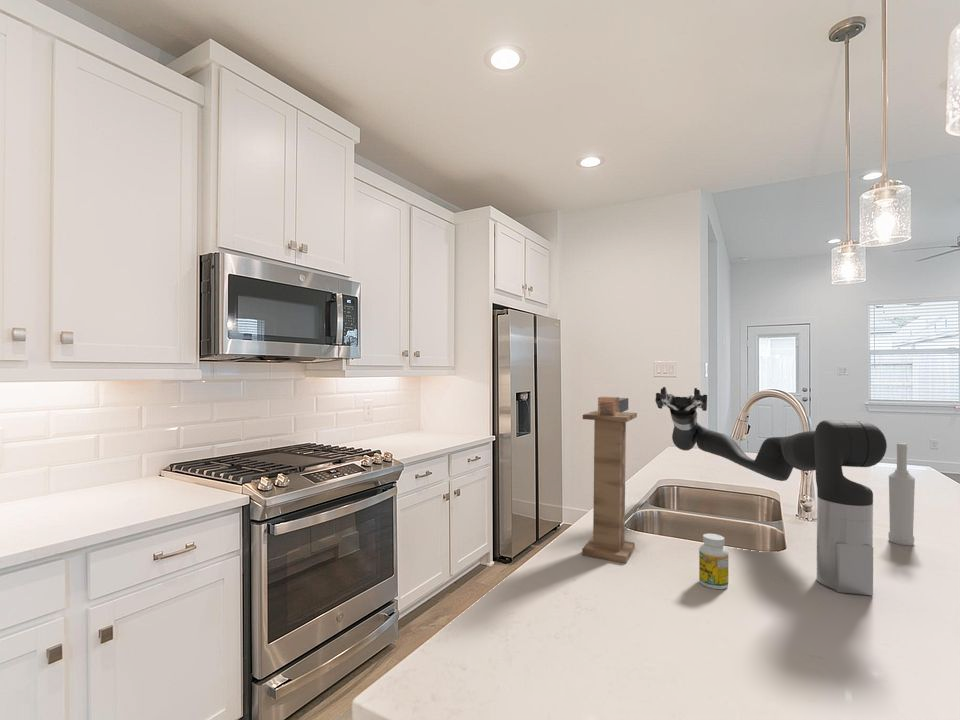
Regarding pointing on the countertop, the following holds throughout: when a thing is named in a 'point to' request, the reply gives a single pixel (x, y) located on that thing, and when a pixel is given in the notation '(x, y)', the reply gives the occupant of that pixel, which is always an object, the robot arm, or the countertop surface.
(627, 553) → the stand
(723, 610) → the countertop surface
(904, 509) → the bottle
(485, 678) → the countertop surface
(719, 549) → the supplement bottle
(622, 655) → the countertop surface
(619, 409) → the orange and blue box
